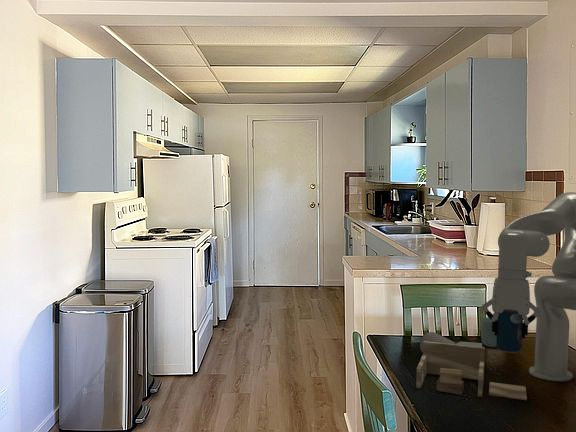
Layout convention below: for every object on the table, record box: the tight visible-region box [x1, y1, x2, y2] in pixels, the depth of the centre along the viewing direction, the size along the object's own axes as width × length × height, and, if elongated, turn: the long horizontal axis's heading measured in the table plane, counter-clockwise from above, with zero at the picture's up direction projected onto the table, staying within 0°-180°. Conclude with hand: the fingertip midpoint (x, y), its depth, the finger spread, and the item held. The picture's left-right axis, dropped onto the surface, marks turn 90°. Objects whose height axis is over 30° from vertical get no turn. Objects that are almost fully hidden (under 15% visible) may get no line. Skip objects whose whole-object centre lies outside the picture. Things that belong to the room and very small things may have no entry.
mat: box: [488, 381, 528, 401], centre depth 169 cm, size 10×10×1 cm
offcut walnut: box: [436, 376, 465, 395], centre depth 170 cm, size 4×7×3 cm, turn 65°
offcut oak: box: [439, 368, 463, 385], centre depth 170 cm, size 4×6×3 cm, turn 74°
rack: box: [415, 341, 486, 398], centre depth 175 cm, size 16×18×10 cm
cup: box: [480, 316, 498, 348], centre depth 217 cm, size 8×8×10 cm
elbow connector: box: [419, 331, 483, 353], centre depth 196 cm, size 18×11×20 cm
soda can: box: [496, 310, 524, 354], centre depth 168 cm, size 7×7×12 cm
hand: (509, 335), depth 168 cm, fingers closed on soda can, 7 cm apart
